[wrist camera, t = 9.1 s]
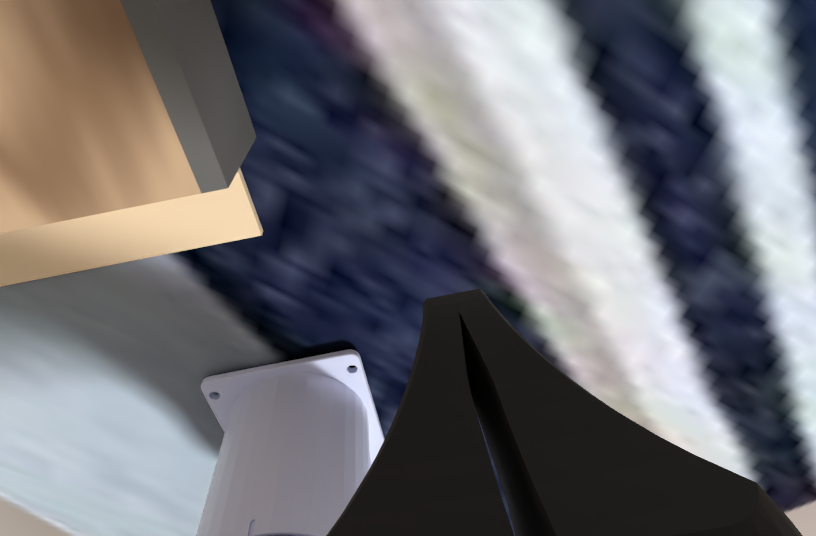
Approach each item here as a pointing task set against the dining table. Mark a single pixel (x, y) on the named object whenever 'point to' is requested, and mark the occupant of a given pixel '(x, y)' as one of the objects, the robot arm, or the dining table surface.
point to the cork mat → (129, 234)
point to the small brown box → (113, 107)
